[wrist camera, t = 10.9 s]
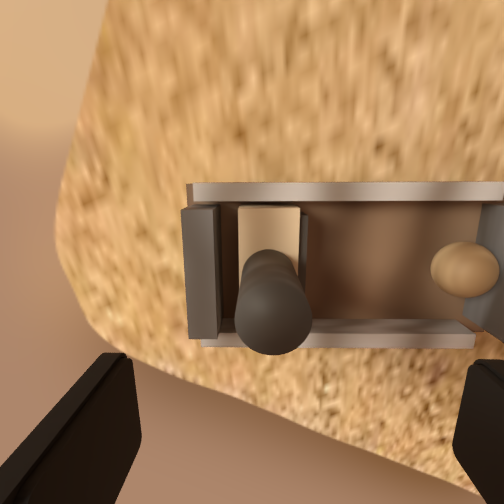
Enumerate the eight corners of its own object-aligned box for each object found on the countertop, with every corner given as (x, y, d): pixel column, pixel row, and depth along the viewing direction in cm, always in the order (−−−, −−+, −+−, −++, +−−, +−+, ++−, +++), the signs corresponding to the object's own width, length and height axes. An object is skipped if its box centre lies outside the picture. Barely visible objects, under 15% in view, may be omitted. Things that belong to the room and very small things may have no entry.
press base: (498, 181, 23) (609, 182, 16) (470, 324, 26) (553, 380, 19) (190, 182, 23) (160, 184, 16) (198, 322, 26) (175, 377, 19)
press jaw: (302, 204, 22) (336, 223, 13) (298, 315, 24) (324, 403, 15) (240, 204, 22) (227, 224, 13) (242, 315, 24) (232, 402, 15)
